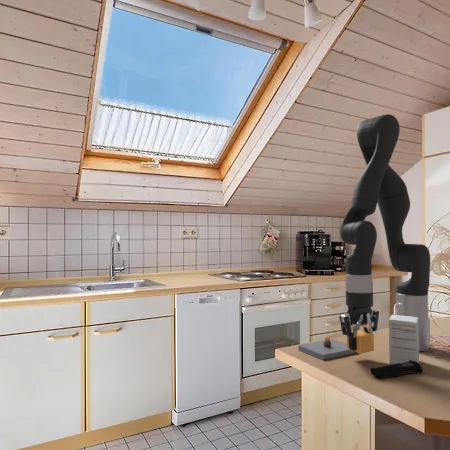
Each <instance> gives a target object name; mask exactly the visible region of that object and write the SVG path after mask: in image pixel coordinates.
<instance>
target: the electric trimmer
mask: <svg viewBox="0 0 450 450" xmlns="http://www.w3.org/2000/svg"><path fill="white" fill-rule="evenodd" d="M369 370H370V374H371V375H372V376H374V377H376V378H385V377H387V378H388V377H390V378H391V377H393V378H394V377H398V376H399V375H406V374H412V373H419V374H423V372H424V370H423V367H422V366H421V364H420V362H419V363H418V362H415V361H412V360H410V361H408V362H406V363H400V364H399V363H398V364H386V365H380V366H374V367H371V368H370V369H369Z"/></svg>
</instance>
